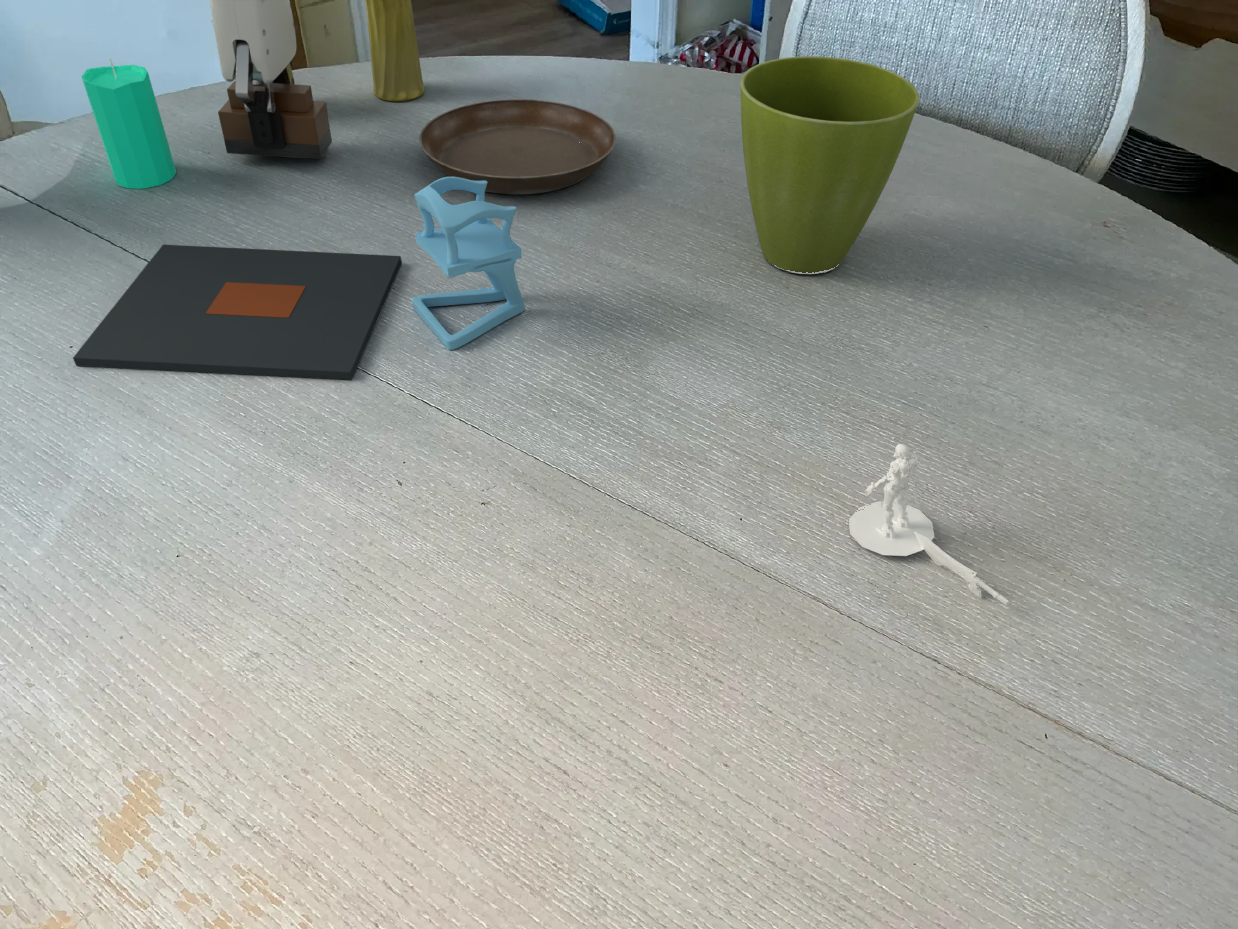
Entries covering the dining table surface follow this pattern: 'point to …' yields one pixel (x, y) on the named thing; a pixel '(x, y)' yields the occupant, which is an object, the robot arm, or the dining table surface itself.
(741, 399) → the dining table surface
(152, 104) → the candle
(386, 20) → the vase
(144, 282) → the mat
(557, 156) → the plant saucer
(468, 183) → the chair
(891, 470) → the figurine
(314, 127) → the brush
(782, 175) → the flower pot
